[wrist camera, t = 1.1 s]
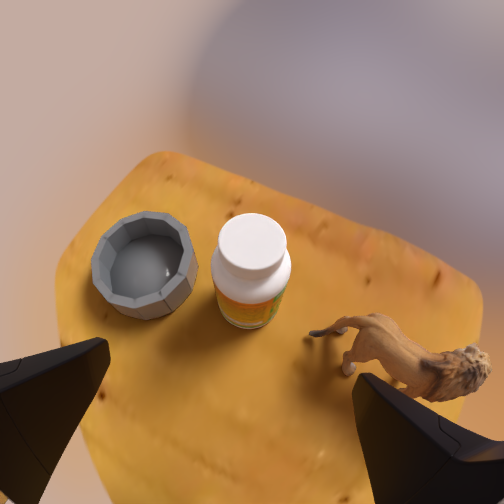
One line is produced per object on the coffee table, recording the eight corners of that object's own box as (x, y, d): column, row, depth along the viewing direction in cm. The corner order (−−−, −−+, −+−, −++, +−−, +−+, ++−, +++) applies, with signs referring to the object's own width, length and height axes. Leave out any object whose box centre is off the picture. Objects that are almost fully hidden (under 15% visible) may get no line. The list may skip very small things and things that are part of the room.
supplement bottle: (275, 334, 22) (296, 288, 14) (213, 325, 23) (195, 274, 14) (281, 278, 25) (300, 210, 17) (224, 270, 25) (216, 199, 17)
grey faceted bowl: (113, 331, 22) (97, 320, 19) (102, 247, 26) (90, 230, 23) (210, 300, 24) (205, 285, 21) (183, 220, 28) (178, 200, 25)
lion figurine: (440, 364, 20) (502, 337, 13) (426, 413, 18) (493, 403, 10) (318, 310, 24) (353, 261, 16) (293, 363, 21) (324, 338, 13)
